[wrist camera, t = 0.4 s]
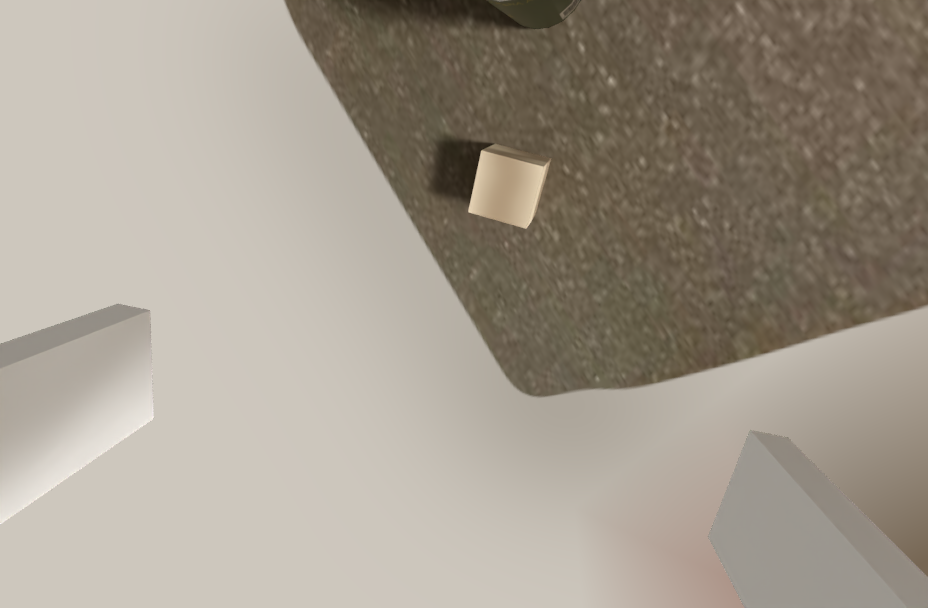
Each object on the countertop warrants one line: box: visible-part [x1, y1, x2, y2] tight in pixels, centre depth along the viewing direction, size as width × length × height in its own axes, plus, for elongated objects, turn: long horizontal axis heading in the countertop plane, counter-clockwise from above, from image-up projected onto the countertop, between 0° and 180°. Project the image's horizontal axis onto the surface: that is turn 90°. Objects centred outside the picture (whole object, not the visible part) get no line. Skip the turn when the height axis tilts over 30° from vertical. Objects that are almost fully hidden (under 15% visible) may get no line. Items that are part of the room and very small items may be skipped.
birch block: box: [468, 144, 551, 229], centre depth 31 cm, size 4×4×4 cm
